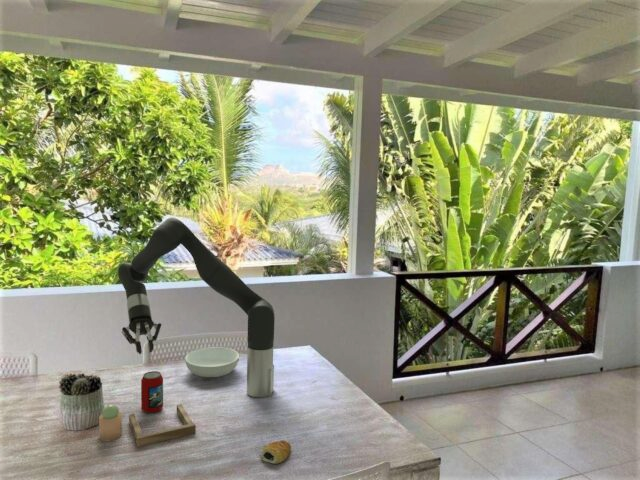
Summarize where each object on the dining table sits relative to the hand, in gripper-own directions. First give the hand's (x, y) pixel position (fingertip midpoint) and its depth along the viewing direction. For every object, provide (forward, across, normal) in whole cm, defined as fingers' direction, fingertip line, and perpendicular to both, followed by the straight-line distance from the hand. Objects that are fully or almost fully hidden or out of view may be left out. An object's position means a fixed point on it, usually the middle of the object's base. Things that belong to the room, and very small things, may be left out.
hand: (145, 352), depth 161 cm
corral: (+28, 0, +5) cm, 28 cm away
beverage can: (+19, 0, -4) cm, 20 cm away
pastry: (+50, -24, +26) cm, 61 cm away
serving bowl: (+4, -27, -19) cm, 33 cm away
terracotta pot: (+27, +14, +4) cm, 30 cm away
